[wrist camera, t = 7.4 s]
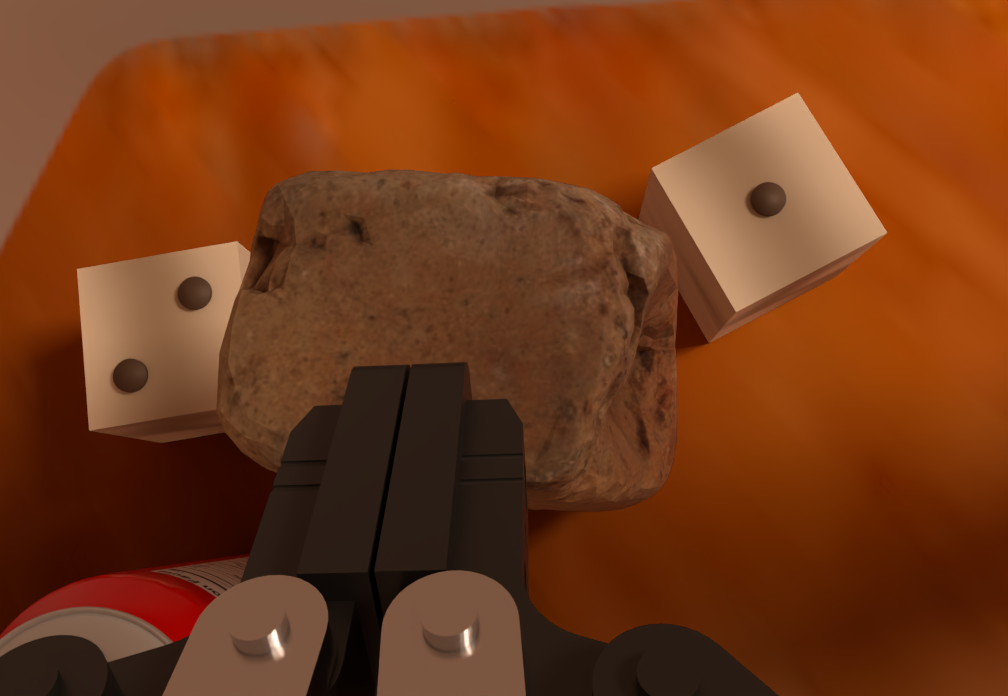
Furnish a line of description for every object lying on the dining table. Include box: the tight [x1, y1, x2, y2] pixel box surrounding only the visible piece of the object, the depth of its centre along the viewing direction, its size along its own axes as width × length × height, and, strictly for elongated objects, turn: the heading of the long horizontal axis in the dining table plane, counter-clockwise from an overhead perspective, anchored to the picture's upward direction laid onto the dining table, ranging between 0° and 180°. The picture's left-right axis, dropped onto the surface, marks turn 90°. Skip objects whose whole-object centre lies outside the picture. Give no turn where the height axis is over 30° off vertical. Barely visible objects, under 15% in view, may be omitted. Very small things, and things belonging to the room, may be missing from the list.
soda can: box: [0, 554, 250, 662], centre depth 29 cm, size 8×8×15 cm
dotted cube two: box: [77, 241, 251, 443], centre depth 35 cm, size 6×6×6 cm
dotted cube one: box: [638, 93, 887, 343], centre depth 35 cm, size 6×6×6 cm
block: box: [216, 170, 678, 512], centre depth 27 cm, size 11×8×20 cm
